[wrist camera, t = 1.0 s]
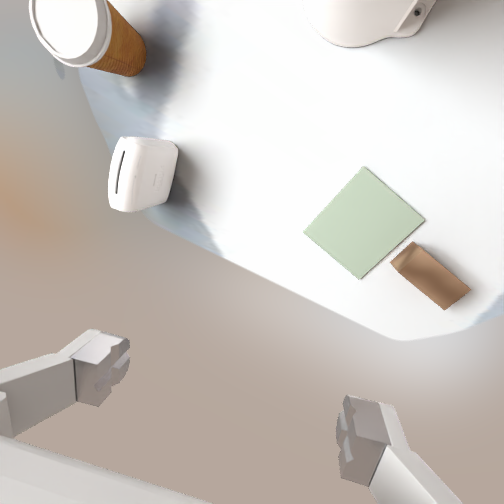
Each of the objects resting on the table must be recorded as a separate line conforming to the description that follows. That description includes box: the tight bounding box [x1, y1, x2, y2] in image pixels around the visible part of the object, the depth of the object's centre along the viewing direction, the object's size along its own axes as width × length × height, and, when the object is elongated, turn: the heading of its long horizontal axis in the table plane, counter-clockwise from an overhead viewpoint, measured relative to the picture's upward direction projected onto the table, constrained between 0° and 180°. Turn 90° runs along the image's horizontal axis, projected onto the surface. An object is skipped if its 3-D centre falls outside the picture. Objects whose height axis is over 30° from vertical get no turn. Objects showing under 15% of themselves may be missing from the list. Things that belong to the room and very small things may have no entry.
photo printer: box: [108, 136, 178, 212], centre depth 41 cm, size 10×4×12 cm, turn 161°
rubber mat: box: [303, 166, 425, 279], centre depth 44 cm, size 13×12×1 cm
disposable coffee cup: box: [29, 0, 146, 77], centre depth 37 cm, size 10×10×12 cm
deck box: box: [390, 242, 471, 310], centre depth 42 cm, size 4×9×4 cm, turn 53°
